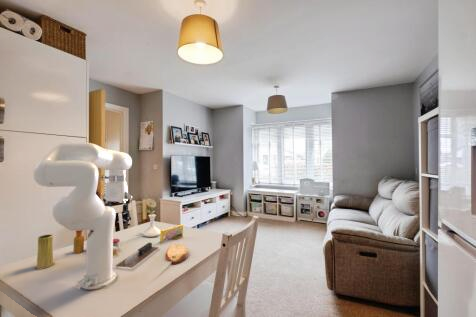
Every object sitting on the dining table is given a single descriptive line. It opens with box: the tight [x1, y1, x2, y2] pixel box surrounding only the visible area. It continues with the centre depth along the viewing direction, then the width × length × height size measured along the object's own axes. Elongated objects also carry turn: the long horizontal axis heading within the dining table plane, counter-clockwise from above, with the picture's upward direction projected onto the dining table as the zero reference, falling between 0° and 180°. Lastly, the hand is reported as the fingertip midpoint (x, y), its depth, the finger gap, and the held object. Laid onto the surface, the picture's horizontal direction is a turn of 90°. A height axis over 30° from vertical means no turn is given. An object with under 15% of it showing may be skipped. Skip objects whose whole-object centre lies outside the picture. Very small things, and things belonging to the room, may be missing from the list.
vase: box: [35, 234, 54, 270], centre depth 105 cm, size 6×6×14 cm
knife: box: [124, 242, 153, 265], centre depth 115 cm, size 21×2×3 cm, turn 171°
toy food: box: [72, 230, 121, 256], centre depth 122 cm, size 27×13×12 cm, turn 73°
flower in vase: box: [142, 198, 161, 238], centre depth 150 cm, size 13×11×25 cm
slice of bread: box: [165, 243, 189, 265], centre depth 119 cm, size 18×18×4 cm
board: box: [115, 246, 159, 269], centre depth 115 cm, size 24×9×1 cm, turn 171°
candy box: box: [159, 224, 184, 243], centre depth 141 cm, size 16×2×8 cm, turn 143°
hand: (116, 211), depth 114 cm, fingers open, 9 cm apart
